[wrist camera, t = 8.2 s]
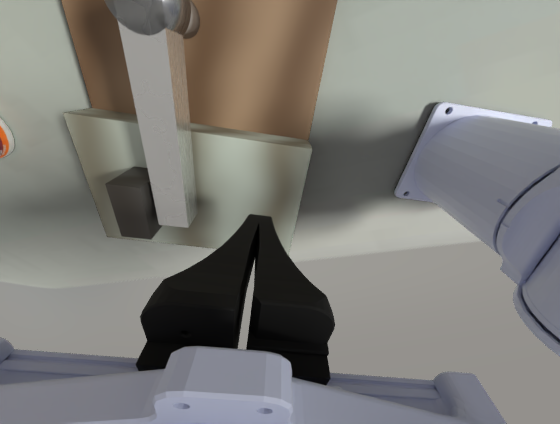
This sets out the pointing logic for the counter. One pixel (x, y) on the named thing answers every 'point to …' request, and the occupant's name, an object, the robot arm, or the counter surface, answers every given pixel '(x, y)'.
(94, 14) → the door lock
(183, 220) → the bar
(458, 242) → the counter surface
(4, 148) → the pill bottle
